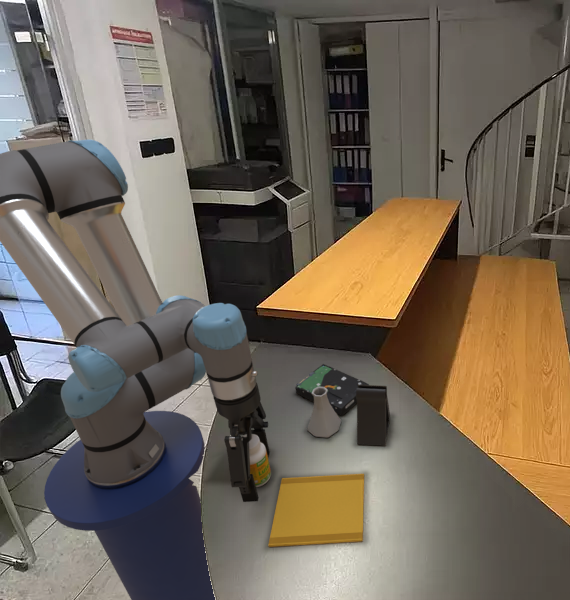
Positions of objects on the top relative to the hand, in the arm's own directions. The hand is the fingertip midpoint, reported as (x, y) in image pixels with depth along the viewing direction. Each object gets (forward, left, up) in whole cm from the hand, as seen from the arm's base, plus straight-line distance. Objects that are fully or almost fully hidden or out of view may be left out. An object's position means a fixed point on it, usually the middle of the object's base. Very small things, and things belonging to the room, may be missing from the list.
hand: (257, 475), depth 95 cm
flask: (+12, +13, -1) cm, 18 cm away
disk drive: (+13, +24, -1) cm, 27 cm away
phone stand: (+23, +11, -1) cm, 26 cm away
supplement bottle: (0, 0, -1) cm, 1 cm away
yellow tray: (+13, -8, 0) cm, 15 cm away
